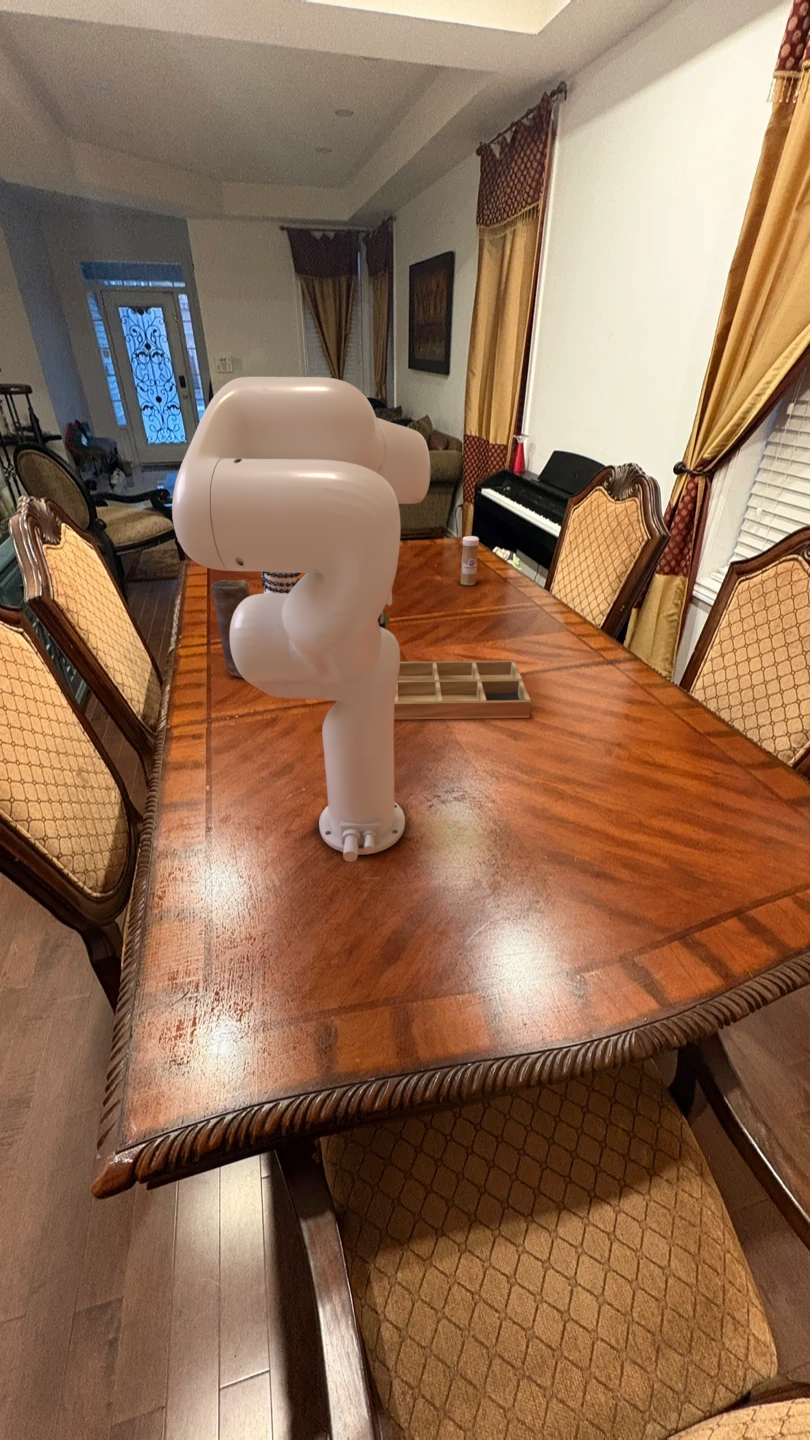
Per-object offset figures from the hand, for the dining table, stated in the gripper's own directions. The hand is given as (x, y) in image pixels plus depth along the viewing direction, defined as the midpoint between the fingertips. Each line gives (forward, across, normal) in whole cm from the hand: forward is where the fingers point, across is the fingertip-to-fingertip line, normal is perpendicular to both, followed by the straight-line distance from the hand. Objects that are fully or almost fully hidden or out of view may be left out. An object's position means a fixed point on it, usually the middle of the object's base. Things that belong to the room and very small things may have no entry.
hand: (374, 636), depth 100 cm
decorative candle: (+20, +43, +21) cm, 52 cm away
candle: (+20, +27, +28) cm, 44 cm away
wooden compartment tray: (+20, +13, -16) cm, 29 cm away
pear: (+5, 0, 0) cm, 5 cm away
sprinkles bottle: (+20, +79, -29) cm, 86 cm away
